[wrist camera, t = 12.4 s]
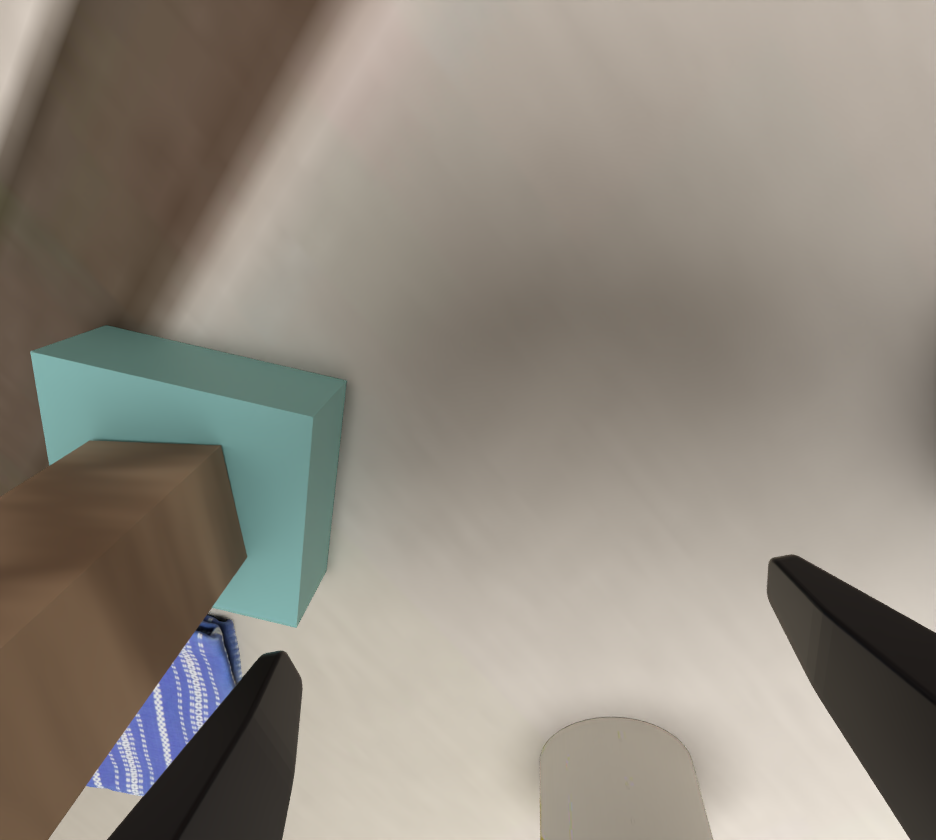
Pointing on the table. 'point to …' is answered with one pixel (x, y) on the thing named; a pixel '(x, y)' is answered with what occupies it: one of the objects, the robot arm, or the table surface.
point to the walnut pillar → (99, 606)
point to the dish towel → (174, 710)
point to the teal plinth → (214, 443)
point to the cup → (619, 784)
